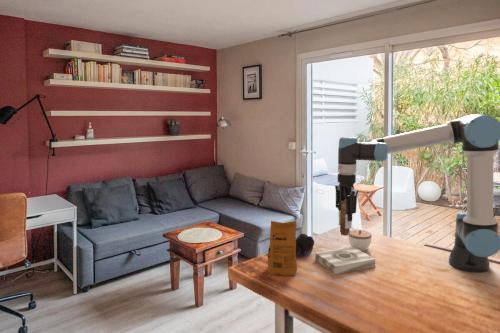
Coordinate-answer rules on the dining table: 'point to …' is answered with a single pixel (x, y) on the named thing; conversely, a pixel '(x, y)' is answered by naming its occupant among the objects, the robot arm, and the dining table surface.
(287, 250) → the coffee package
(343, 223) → the peg
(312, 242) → the crystal cluster
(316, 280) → the dining table surface
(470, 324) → the dining table surface
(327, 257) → the board
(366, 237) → the lidded jar
